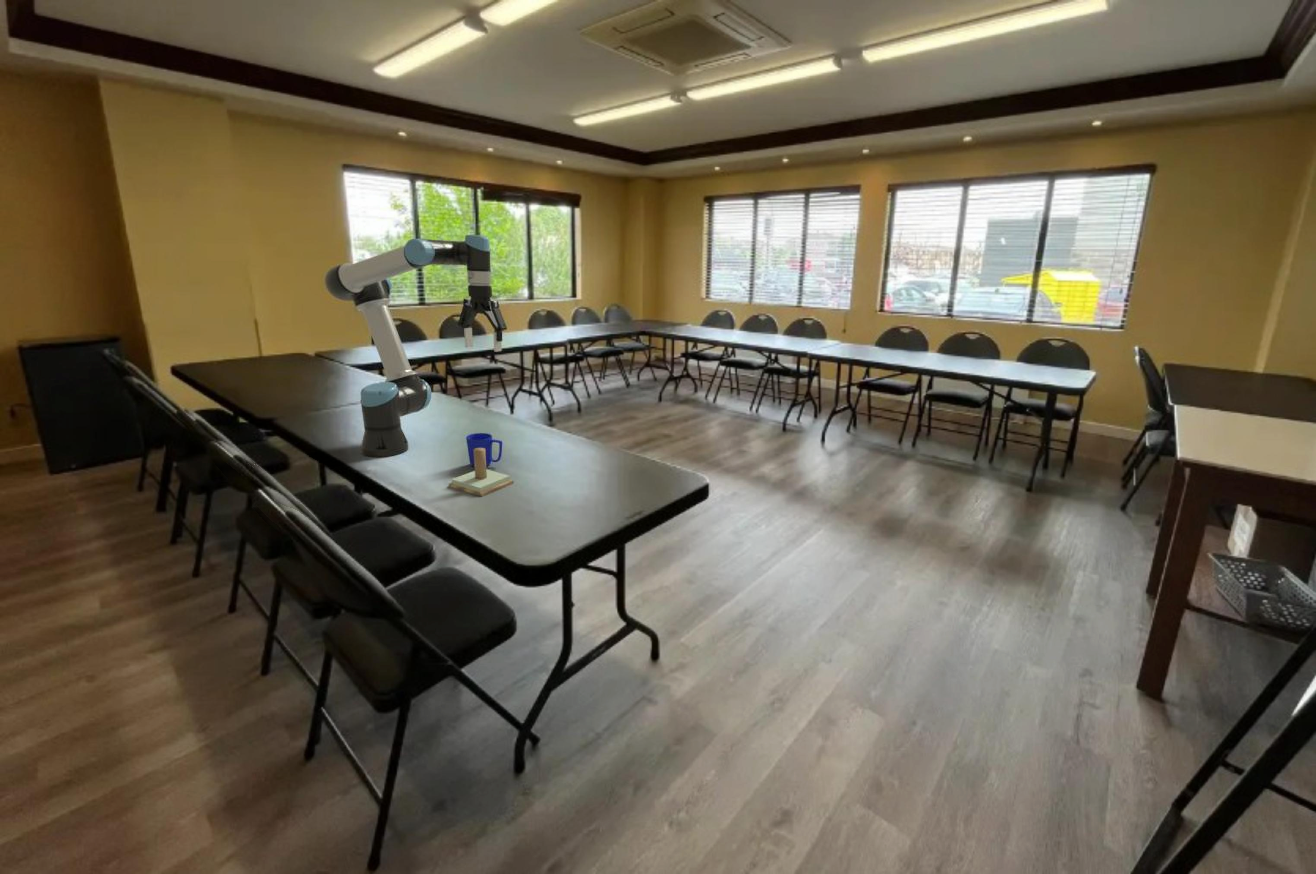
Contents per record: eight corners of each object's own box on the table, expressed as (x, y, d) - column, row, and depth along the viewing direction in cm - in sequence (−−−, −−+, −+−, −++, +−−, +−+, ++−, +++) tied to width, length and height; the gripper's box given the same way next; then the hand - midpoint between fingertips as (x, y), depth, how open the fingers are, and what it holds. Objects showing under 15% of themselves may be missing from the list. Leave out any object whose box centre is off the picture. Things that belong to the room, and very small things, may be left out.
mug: (497, 471, 187) (495, 442, 184) (463, 467, 189) (461, 438, 186) (508, 463, 195) (507, 435, 192) (475, 459, 197) (474, 432, 194)
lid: (452, 483, 173) (449, 450, 170) (482, 472, 183) (480, 441, 180) (480, 492, 168) (478, 458, 164) (509, 480, 177) (508, 448, 174)
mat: (448, 486, 173) (448, 483, 173) (481, 473, 184) (481, 471, 184) (481, 496, 167) (481, 493, 167) (513, 482, 178) (513, 480, 177)
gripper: (444, 283, 192) (449, 346, 198) (499, 286, 180) (502, 354, 186) (462, 282, 198) (466, 344, 204) (516, 286, 186) (518, 351, 192)
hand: (483, 349), depth 195 cm, fingers open, 13 cm apart
